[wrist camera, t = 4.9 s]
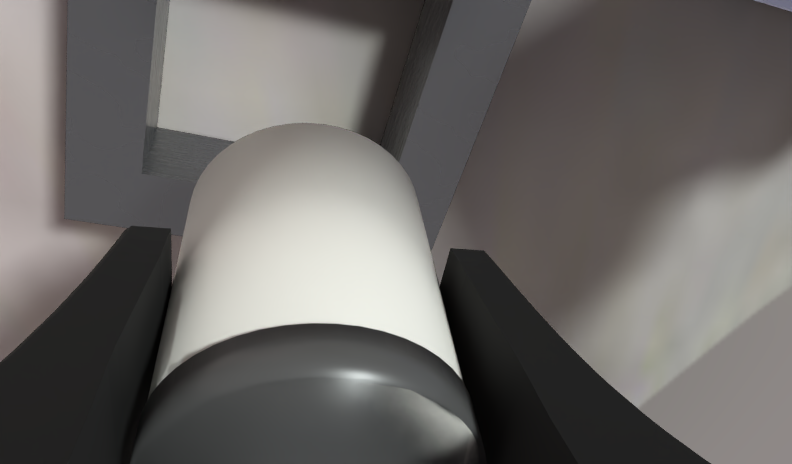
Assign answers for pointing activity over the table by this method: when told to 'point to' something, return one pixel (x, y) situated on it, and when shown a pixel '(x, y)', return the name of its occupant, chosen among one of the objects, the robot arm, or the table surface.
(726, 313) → the table surface
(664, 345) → the table surface
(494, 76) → the grey square frame
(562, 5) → the table surface
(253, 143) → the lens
